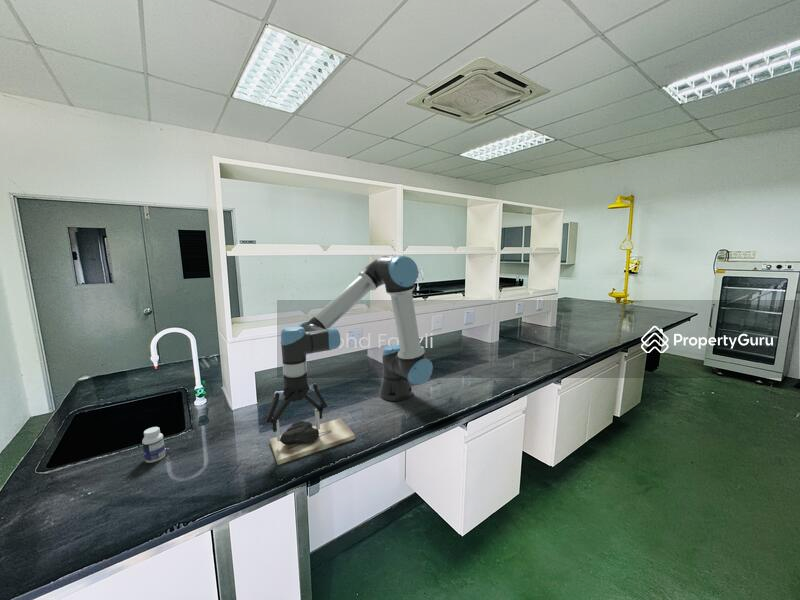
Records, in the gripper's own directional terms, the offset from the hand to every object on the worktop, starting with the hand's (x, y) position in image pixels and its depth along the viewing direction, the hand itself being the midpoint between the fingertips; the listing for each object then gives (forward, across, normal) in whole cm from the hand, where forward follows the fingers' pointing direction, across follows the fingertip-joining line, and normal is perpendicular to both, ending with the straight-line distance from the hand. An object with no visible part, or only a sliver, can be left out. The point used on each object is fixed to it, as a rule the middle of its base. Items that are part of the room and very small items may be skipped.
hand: (298, 433), depth 108 cm
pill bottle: (+5, +41, -18) cm, 46 cm away
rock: (+3, 0, 0) cm, 3 cm away
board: (+4, -5, 0) cm, 6 cm away
